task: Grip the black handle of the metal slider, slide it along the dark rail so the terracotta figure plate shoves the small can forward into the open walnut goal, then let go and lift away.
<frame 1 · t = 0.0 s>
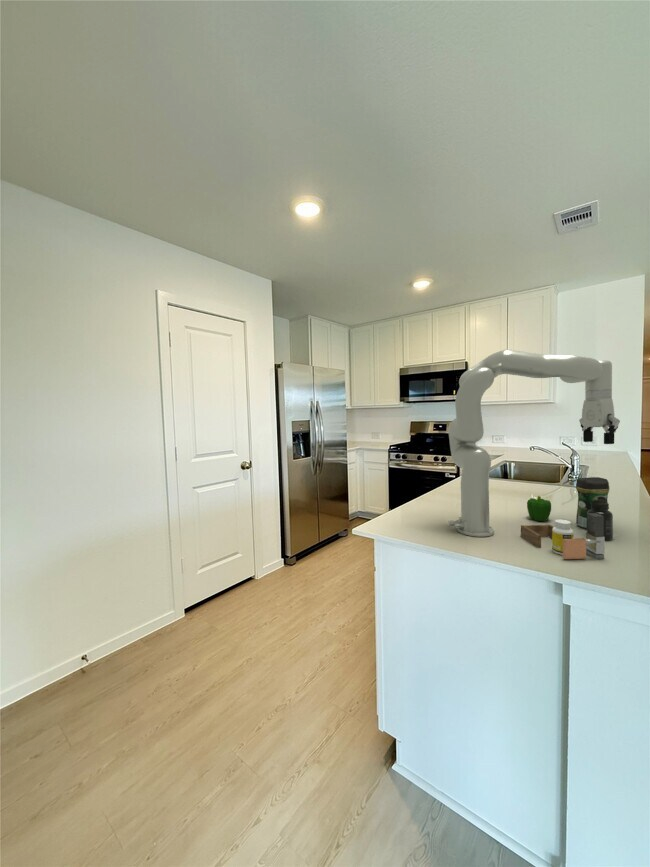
hand: (598, 442, 125), 31 cm above the countertop, tool pointing down, fingers open, 9 cm apart
carriage: (580, 535, 103), point 6 cm above the countertop, slide at 0.0 cm
rail: (578, 547, 110), on the countertop
coffee jar: (592, 527, 127), on the countertop
supplement bottle: (599, 538, 117), on the countertop
bell pepper: (538, 519, 138), on the countertop
goal: (544, 541, 116), on the countertop
supplement bottle 2: (562, 553, 107), on the countertop
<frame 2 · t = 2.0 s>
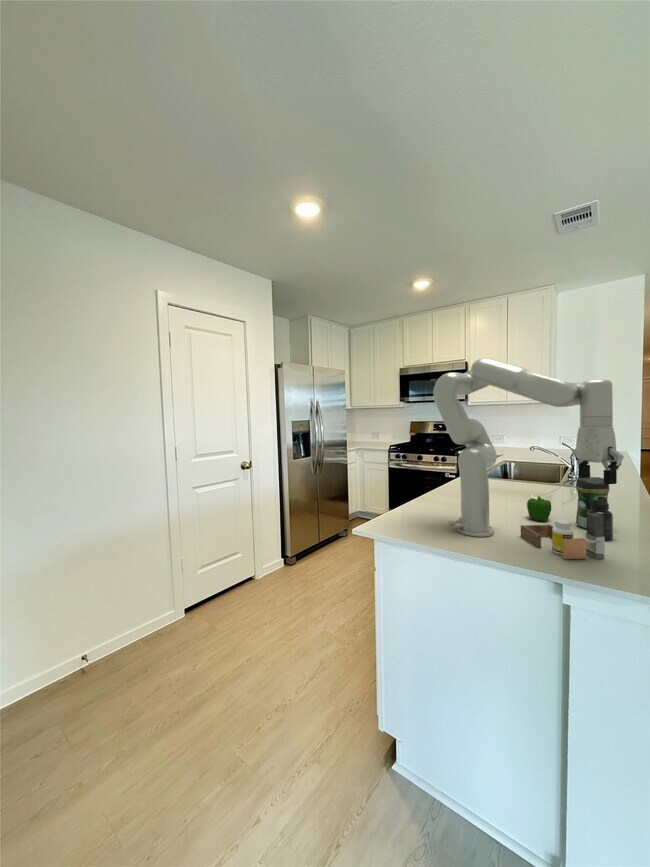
hand: (596, 480, 101), 23 cm above the countertop, tool pointing down, fingers open, 9 cm apart
nothing on the countertop moved.
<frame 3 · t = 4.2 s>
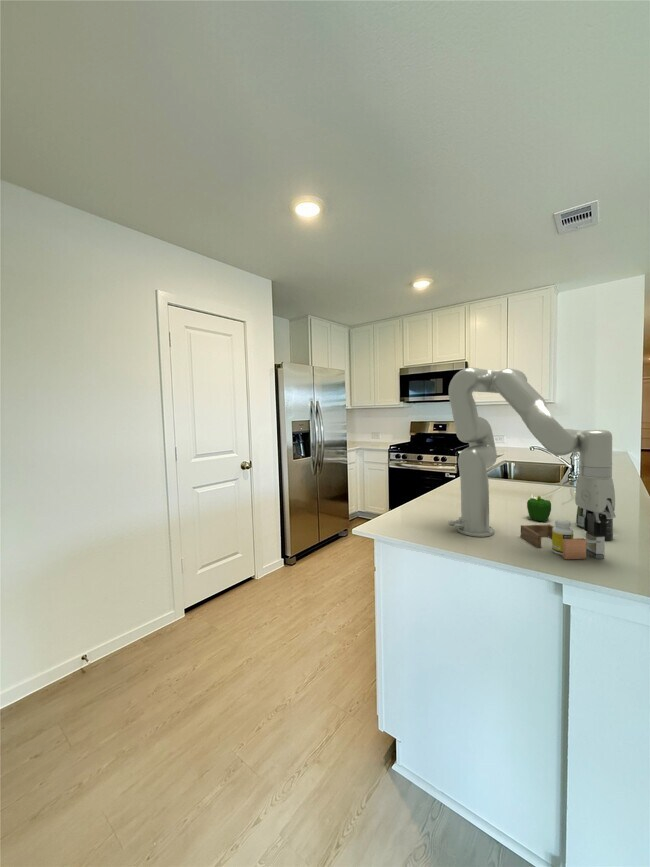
hand: (595, 532, 102), 7 cm above the countertop, tool pointing down, fingers closed on carriage, 3 cm apart
carriage: (580, 535, 103), point 6 cm above the countertop, slide at 0.0 cm, touching gripper
everything else where it was.
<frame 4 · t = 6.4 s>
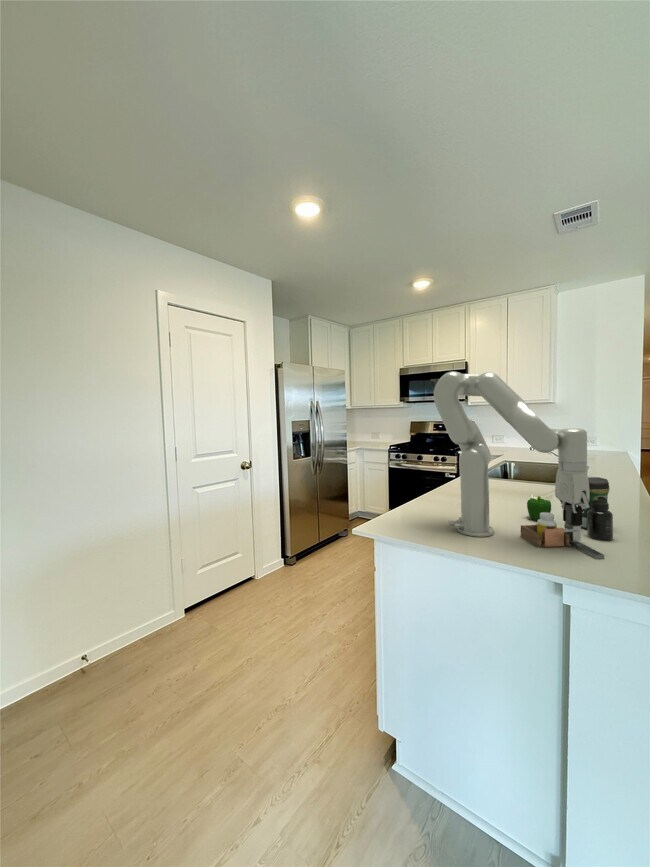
hand: (572, 522, 112), 7 cm above the countertop, tool pointing down, fingers closed on carriage, 3 cm apart
carriage: (558, 525, 112), point 6 cm above the countertop, slide at 9.6 cm, touching supplement bottle 2, gripper
supplement bottle 2: (546, 543, 114), on the countertop, touching carriage
everything else where it was.
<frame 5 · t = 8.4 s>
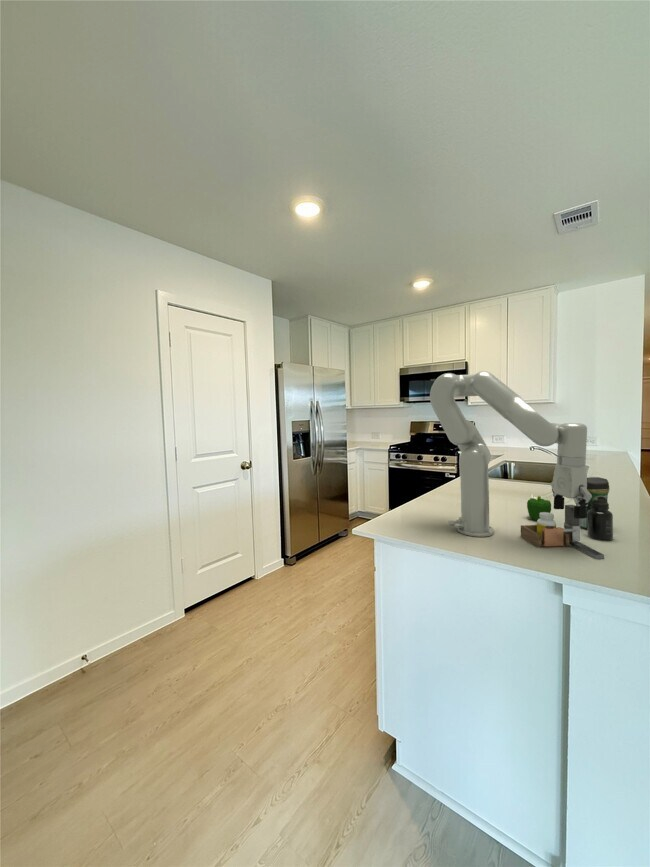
hand: (568, 513, 113), 10 cm above the countertop, tool pointing down, fingers open, 9 cm apart
carriage: (558, 525, 112), point 6 cm above the countertop, slide at 9.8 cm, touching supplement bottle 2
everything else where it was.
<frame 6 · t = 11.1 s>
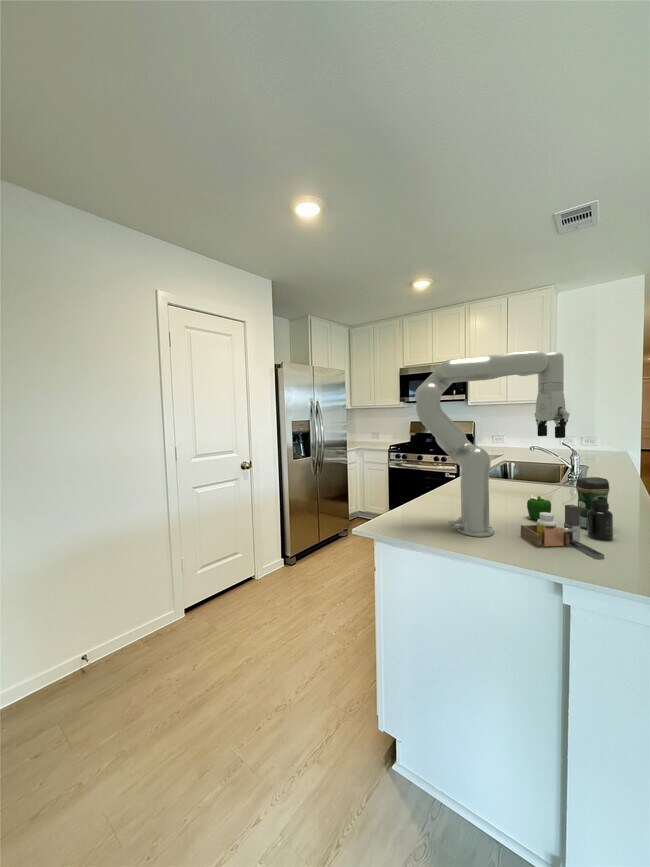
hand: (550, 436, 123), 34 cm above the countertop, tool pointing down, fingers open, 9 cm apart
nothing on the countertop moved.
at the end: supplement bottle 2 inside the target area (0.6 cm from its centre), on the countertop; supplement bottle 2 tilted 0°; carriage slide at 9.8 cm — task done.
